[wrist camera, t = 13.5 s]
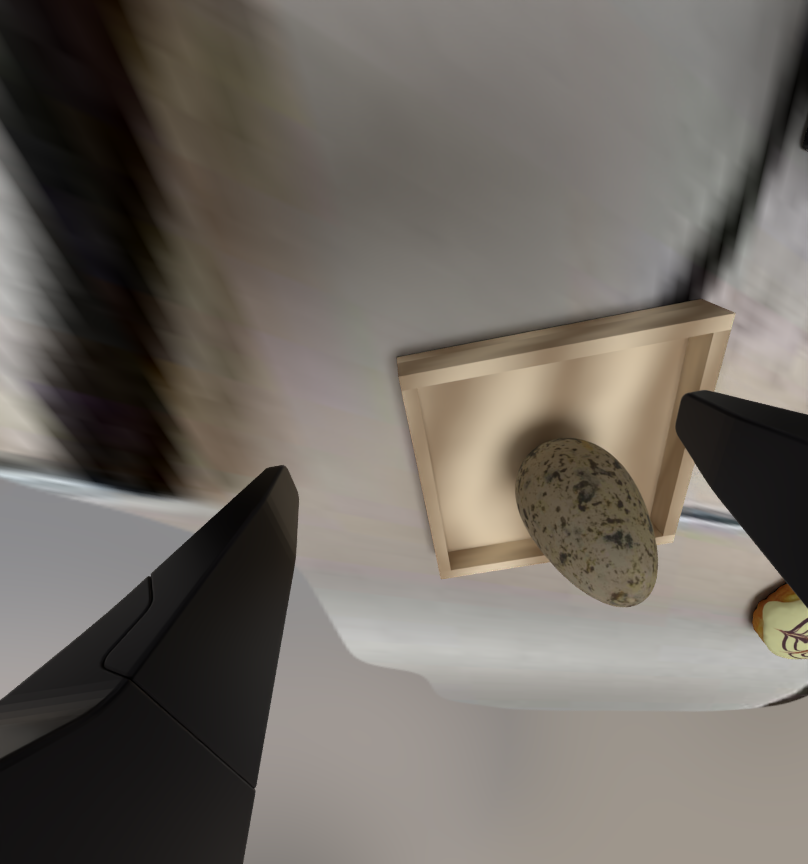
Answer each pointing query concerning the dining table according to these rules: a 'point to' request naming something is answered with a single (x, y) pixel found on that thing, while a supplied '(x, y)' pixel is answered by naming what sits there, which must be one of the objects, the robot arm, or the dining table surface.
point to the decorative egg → (588, 520)
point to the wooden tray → (554, 420)
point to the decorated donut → (783, 624)
